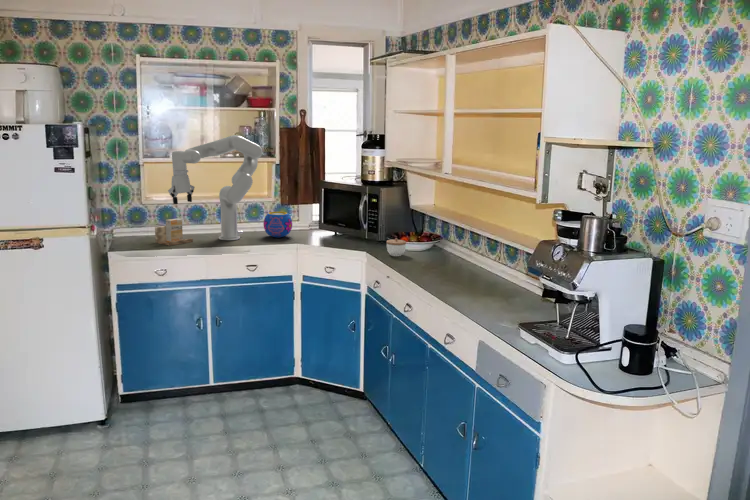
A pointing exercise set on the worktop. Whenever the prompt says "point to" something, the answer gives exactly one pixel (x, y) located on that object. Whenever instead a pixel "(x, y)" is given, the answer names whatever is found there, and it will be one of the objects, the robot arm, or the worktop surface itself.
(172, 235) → the supplement box
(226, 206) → the robot arm
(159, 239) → the patterned wooden bookend
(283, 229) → the ceramic pot
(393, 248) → the lidded jar
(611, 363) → the worktop surface
